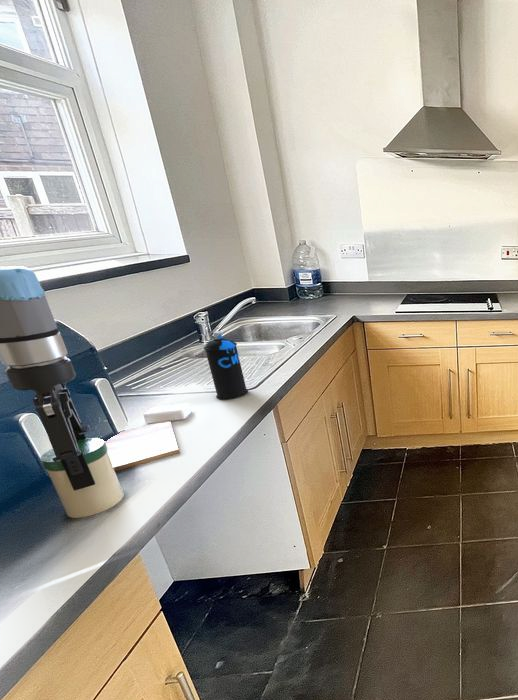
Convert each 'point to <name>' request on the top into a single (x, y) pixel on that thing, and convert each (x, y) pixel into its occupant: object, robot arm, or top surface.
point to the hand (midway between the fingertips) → (85, 475)
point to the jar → (89, 490)
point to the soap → (167, 413)
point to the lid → (89, 447)
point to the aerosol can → (225, 367)
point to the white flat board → (142, 445)
